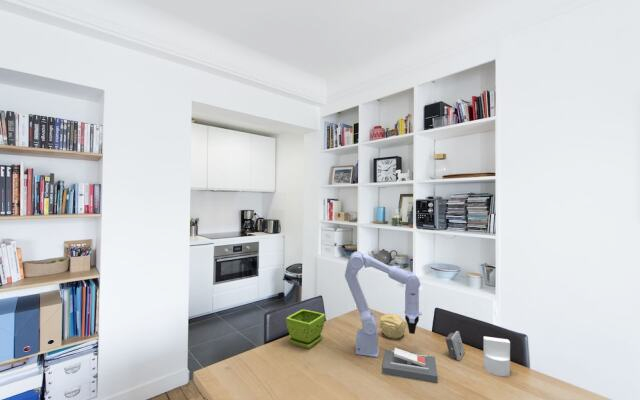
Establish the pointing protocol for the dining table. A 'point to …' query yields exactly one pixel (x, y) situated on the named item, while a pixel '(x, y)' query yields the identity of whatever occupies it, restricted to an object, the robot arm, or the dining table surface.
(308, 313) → the flower pot
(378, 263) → the robot arm
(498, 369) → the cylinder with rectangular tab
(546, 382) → the dining table surface
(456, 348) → the grey stone block
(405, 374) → the switch panel
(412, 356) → the rocker paddle
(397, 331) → the sculpture
